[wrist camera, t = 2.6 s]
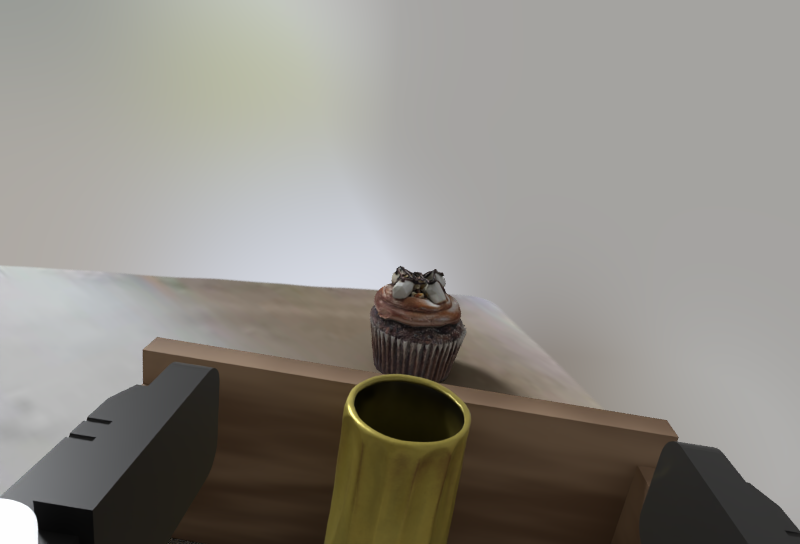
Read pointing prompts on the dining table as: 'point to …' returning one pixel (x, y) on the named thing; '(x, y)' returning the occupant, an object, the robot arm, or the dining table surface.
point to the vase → (398, 462)
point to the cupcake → (416, 326)
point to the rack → (481, 470)
